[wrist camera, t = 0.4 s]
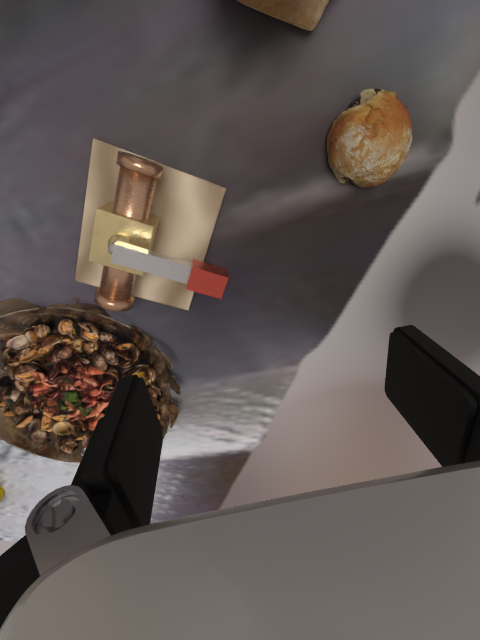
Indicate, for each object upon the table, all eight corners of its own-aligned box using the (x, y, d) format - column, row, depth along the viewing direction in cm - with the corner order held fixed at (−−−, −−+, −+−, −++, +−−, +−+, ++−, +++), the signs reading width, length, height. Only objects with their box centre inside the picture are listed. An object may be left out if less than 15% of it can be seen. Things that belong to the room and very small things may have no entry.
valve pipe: (97, 286, 43) (79, 309, 36) (120, 148, 35) (102, 146, 29) (141, 298, 44) (131, 321, 38) (171, 168, 37) (165, 170, 31)
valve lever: (110, 255, 34) (100, 265, 31) (114, 232, 33) (105, 240, 30) (219, 287, 37) (221, 298, 34) (226, 267, 36) (228, 277, 33)
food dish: (219, 366, 55) (223, 397, 49) (115, 463, 65) (106, 501, 58) (21, 237, 40) (-13, 256, 33) (-77, 389, 50) (-119, 427, 43)
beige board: (78, 276, 43) (74, 280, 42) (97, 138, 36) (93, 138, 35) (188, 306, 47) (188, 310, 46) (225, 187, 40) (226, 188, 39)
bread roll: (309, 160, 43) (318, 191, 38) (346, 71, 35) (364, 96, 30) (371, 176, 45) (388, 207, 40) (420, 95, 37) (448, 122, 32)
